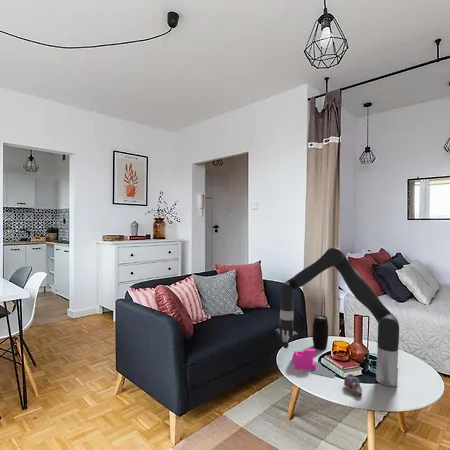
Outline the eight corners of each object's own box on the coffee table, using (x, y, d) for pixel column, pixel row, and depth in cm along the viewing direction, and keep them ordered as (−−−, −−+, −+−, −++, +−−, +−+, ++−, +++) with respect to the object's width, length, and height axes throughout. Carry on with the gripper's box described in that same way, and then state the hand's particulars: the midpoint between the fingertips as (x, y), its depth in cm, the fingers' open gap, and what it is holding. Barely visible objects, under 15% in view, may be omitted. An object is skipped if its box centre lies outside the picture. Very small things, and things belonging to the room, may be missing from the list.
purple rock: (366, 399, 144) (366, 386, 144) (348, 397, 145) (348, 384, 145) (358, 385, 156) (358, 373, 156) (342, 384, 157) (342, 371, 157)
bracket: (315, 369, 170) (315, 350, 170) (296, 369, 170) (296, 350, 170) (310, 359, 182) (310, 341, 182) (292, 359, 182) (292, 341, 182)
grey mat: (336, 366, 175) (336, 366, 175) (334, 378, 162) (334, 377, 162) (314, 362, 179) (314, 361, 179) (310, 373, 167) (310, 372, 167)
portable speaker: (310, 345, 203) (310, 314, 202) (323, 344, 204) (324, 314, 204) (316, 350, 194) (317, 319, 194) (330, 349, 196) (331, 318, 196)
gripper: (299, 317, 180) (298, 347, 181) (276, 313, 186) (275, 343, 186) (297, 321, 173) (295, 352, 174) (273, 317, 179) (272, 348, 179)
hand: (285, 347), depth 180 cm, fingers closed
